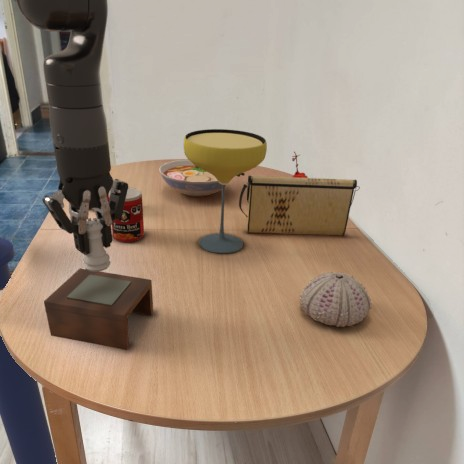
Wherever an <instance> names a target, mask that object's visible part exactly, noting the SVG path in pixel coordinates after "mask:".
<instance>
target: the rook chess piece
mask: <svg viewBox="0 0 464 464" xmlns="http://www.w3.org/2000/svg"><path fill="white" fill-rule="evenodd" d="M102 227H103V225H102V224H101V223H100V220H99V219H97V217H93V218H91V217H88V219H87V220H86V231H85V232H86V233H87V235H88V242H89V249H90V254H87V255H84V254H83V257H82V262H83V263H82V266H83V269H87V270H89V271H93V272H99V271H100V272H104V271H105V270H107V269H108V268H109V267H110V266H111V263H112V261H111V260H110V255H109V253H107V250H106V248H105V247H103V243H102V238H101V237H102V233H101V232H100V231H101V229H102Z"/></svg>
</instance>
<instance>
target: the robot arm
mask: <svg viewBox="0 0 464 464" xmlns="http://www.w3.org/2000/svg"><path fill="white" fill-rule="evenodd" d="M15 2H16V5H17V8H18V10H19V12H20V14H21V15H22V17H23V18H24V20H26V21H27V23H29V24H30V25H31V26H33V27H35V28H37V29H38V30H41V31H44V32H57V33H58V32H62V33H63V32H65V33H66V32H70V34H69V39H68V43H67V46H66V47H65V48H64V49H62V50H61V51H58V52H55V53H52V54H49V55H47V56H45V58H44V59H43V65H42V67H43V75H44V82H45V89H46V95H47V101H48V108H49V126H50V132H51V139H52V146H53V150H54V151H53V152H54V157H55V164H56V171H57V173H58V177H59V183H58V187H57V191H55V192H54V193H53V194H51V195H47V194H46V195H44V196H43V197H42V198H41V200H42V203H43V204H44V205H45V206H44V207H46V209H47V211H48V212H49V214H50V215H51V217H52V218H53V220H54V222H55V223H56V224H57V226H58V227H59V229H61V230H63V231H64V232H66V233H67V234H73V242H74V247H75V249H76V250H77V251H78V252H79V253H80V254H82V255H83V256H84V255H87V254H90V249H89V242H88V235H87V233H86V232H85V231H86V220H87V221H88V218H89V213H90V210H93V209H94V210H93V211H94V214H95V218H97V219H99V220H100V223H101V224H102V225H103V227H102V229H101V231H100V232H101V233H102V237H101V238H102V243H103V247H104V249H107V248H110V247H111V245H112V243H113V234H112V222H113V221H114V220H115V219H120V218H121V215H122V211H123V207H124V203H125V199H126V195H127V191H128V188H129V184H128V183H127V182H125V181H123V180H120V179H118V178H115V179H114V178H113V176H112V175H111V173H110V172H111V170H112V165H111V153H110V145H109V143H110V142H109V135H108V133H109V132H108V124H107V118H106V114H105V109H104V102H103V92H102V80H101V66H102V59H103V51H104V43H105V38H106V32H107V31H106V30H107V25H108V16H109V8H108V7H109V4H108V3H109V2H108V0H15ZM110 191H111V193H110V198H109V202H108V200H107V196H108V194H109V192H110ZM64 199H65V200H66V201H67V202H68V213H69V216H68V215H67V213H66V211H65V209H64V208H65V203H64ZM92 208H93V209H92Z"/></svg>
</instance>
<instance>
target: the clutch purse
mask: <svg viewBox="0 0 464 464" xmlns="http://www.w3.org/2000/svg"><path fill="white" fill-rule="evenodd" d="M242 183H243V187H242V188H241V191H240V194H239V200H238V207H239V210H240V211H241V212H242V214H243V215H244V216H246V218H247V220H246V233H247V234H249V233H259V234H261V233H263V234H293V235H295V234H296V235H323V236H324V235H326V236H327V235H329V236H342V237H343V236H344V235H345V234H346V230H347V226H348V221H349V217H350V216H349V215H350V212H351V207H352V204H353V201H354V198H355V196H356V192H358V191H359V190H360V189H361V187H360V186H359V185H358V180H357V179H346V178H344V179H342V178H321V177H320V178H319V177H318V178H317V177H308V178H294V177H293V176H291V177H290V176H289V177H288V176H269V175H268V176H265V175H248V176H247V181H246V180H244V181H243V182H242ZM245 191H246V202H247V204H248V205H247V214H246V213H245V212H244V210H243V209H242V202H243V196H244V193H245Z"/></svg>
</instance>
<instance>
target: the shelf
mask: <svg viewBox="0 0 464 464" xmlns="http://www.w3.org/2000/svg"><path fill="white" fill-rule="evenodd" d="M152 281H153V280H152V279H149V278H143V277H137V276H130V275H125V274H119V273H113V272H106V271H99V272H93V271H89V270H87V269H86V268H79V269H77V270H76V271H75V272H74V273H73V274H72V275H71V276H70V277H68V279H67V280H65V281H64V282H63V283H62V284H60V286H59V287H57V288H56V290H55V291H53V292H52V293H51V294H49V296H48V297H47V298H46V299H45V300H44V301H43V305H44V309H45V314H46V319H47V323H48V328H49V333H50V336H51V337H56V338H62V339H67V340H72V341H77V342H83V343H88V344H94V345H99V346H104V347H109V348H114V349H120V350H125V351H128V350H129V348H130V347H131V343H130V330H129V329H130V328H129V320H128V317H130V315H131V314H132V313H136V314H142V315H147V316H152V315H153V314H154V300H153V298H154V297H153V285H152V284H153V282H152Z"/></svg>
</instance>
